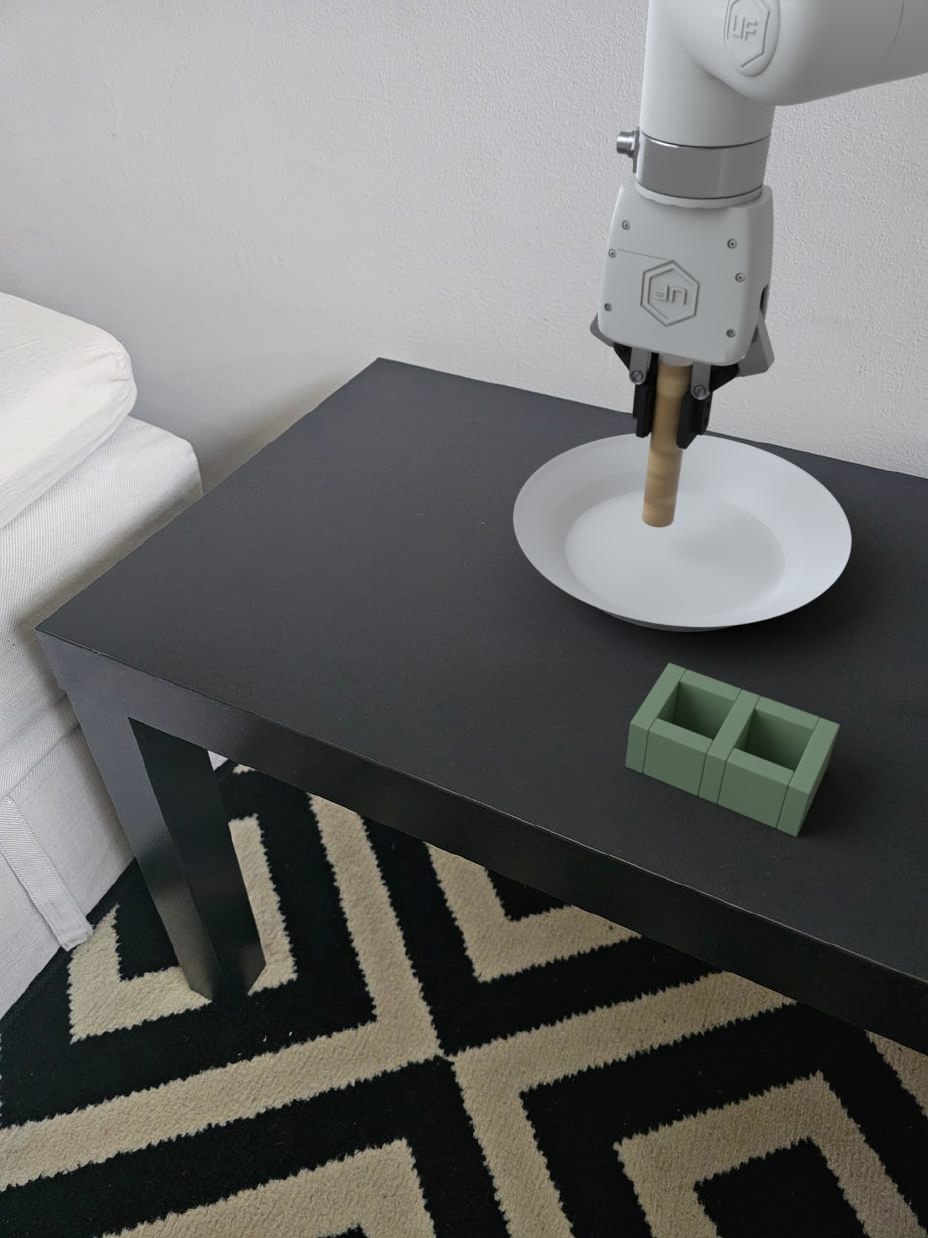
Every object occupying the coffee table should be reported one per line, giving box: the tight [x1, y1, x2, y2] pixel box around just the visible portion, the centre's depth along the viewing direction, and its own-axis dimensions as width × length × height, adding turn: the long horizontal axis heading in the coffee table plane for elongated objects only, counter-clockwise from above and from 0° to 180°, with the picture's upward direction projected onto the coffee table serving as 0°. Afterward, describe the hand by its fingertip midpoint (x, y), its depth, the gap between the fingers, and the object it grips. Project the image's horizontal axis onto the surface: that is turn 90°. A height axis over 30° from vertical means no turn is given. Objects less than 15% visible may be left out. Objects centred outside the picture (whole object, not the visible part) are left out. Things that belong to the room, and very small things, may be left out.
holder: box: [625, 662, 841, 838], centre depth 61 cm, size 11×6×4 cm, turn 59°
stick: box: [642, 354, 693, 528], centre depth 72 cm, size 2×2×13 cm
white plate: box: [512, 433, 852, 633], centre depth 77 cm, size 25×25×4 cm
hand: (668, 432), depth 71 cm, fingers closed on stick, 2 cm apart
